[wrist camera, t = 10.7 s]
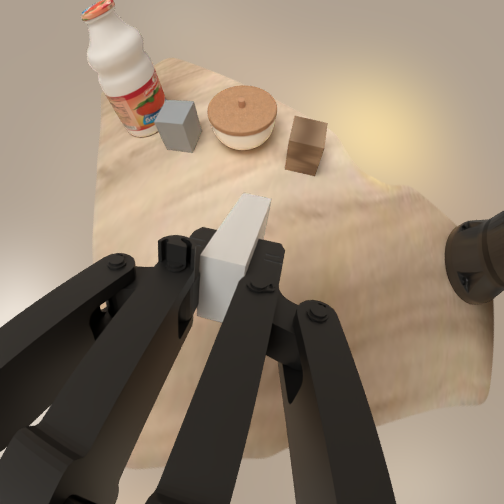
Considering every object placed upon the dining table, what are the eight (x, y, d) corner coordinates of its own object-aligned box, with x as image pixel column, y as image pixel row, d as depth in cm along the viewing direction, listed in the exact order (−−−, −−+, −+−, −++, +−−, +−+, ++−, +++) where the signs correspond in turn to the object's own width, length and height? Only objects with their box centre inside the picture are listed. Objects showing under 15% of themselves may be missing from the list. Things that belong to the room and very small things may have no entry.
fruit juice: (135, 105, 50) (86, 1, 23) (176, 102, 50) (138, -15, 23) (120, 139, 48) (54, 32, 21) (163, 138, 48) (108, 13, 21)
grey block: (201, 131, 48) (193, 101, 40) (192, 152, 46) (182, 124, 39) (177, 128, 48) (166, 100, 40) (167, 149, 47) (154, 121, 39)
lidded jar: (213, 117, 48) (206, 81, 39) (271, 112, 48) (273, 76, 39) (213, 163, 46) (204, 129, 37) (278, 158, 46) (282, 123, 37)
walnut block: (318, 152, 46) (327, 123, 38) (314, 176, 45) (324, 148, 37) (290, 145, 46) (294, 115, 39) (284, 169, 45) (289, 140, 37)
